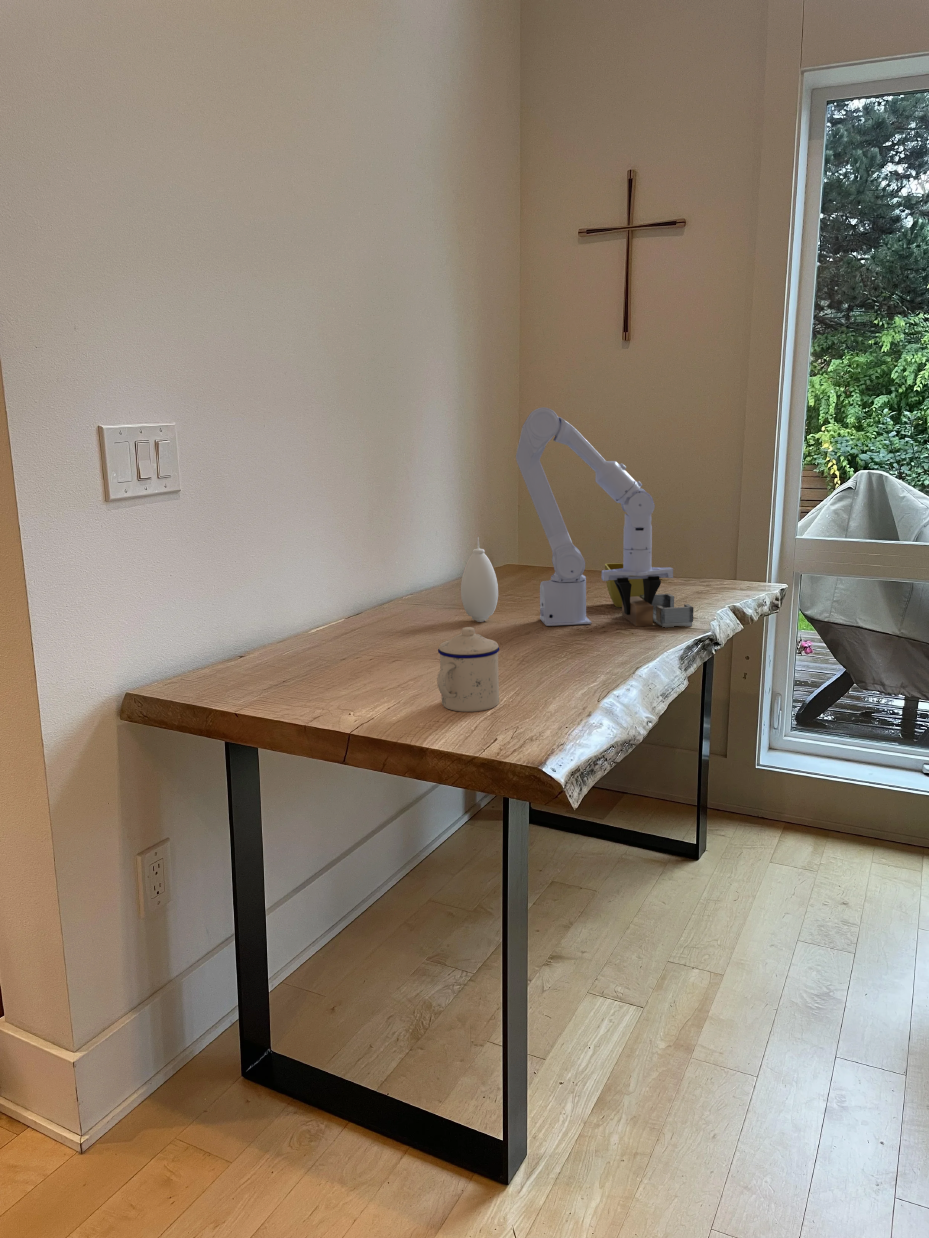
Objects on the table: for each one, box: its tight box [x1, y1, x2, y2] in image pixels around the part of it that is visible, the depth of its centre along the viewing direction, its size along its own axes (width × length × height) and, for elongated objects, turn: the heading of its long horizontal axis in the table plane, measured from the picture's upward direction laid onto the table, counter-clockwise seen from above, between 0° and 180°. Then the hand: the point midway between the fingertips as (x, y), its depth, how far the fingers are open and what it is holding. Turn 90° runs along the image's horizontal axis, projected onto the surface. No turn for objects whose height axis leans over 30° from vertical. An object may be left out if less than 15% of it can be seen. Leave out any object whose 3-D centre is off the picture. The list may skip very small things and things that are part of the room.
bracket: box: [640, 593, 694, 628], centre depth 194 cm, size 7×16×4 cm, turn 5°
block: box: [621, 596, 654, 627], centre depth 194 cm, size 4×11×4 cm, turn 5°
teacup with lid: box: [436, 626, 500, 713], centre depth 138 cm, size 12×9×12 cm
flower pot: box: [604, 562, 648, 608], centre depth 209 cm, size 9×9×9 cm
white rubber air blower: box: [460, 537, 499, 623], centre depth 196 cm, size 8×8×18 cm
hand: (637, 613), depth 194 cm, fingers closed on block, 3 cm apart
